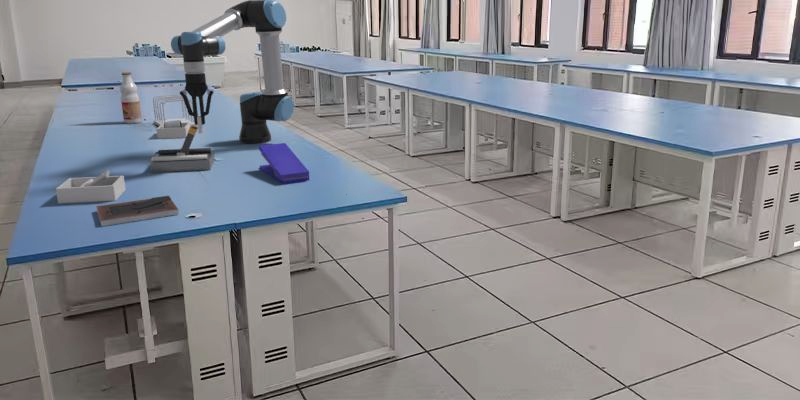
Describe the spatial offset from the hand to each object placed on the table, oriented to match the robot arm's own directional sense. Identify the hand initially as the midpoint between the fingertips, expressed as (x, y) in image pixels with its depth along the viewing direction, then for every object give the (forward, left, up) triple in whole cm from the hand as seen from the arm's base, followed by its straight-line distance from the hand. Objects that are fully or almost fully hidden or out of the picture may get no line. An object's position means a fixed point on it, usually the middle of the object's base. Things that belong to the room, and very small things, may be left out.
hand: (200, 132), depth 244 cm
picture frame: (+13, +60, -14) cm, 63 cm away
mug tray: (+23, -70, -14) cm, 75 cm away
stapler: (-32, +20, -14) cm, 40 cm away
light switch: (+32, +38, -14) cm, 52 cm away
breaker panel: (+8, 0, -14) cm, 16 cm away
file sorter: (+28, -101, -14) cm, 106 cm away
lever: (+8, 0, -9) cm, 12 cm away
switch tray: (+32, +38, -14) cm, 51 cm away
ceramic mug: (+23, -69, -14) cm, 74 cm away
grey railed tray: (+8, 0, -10) cm, 13 cm away
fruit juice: (+53, -115, -14) cm, 127 cm away
